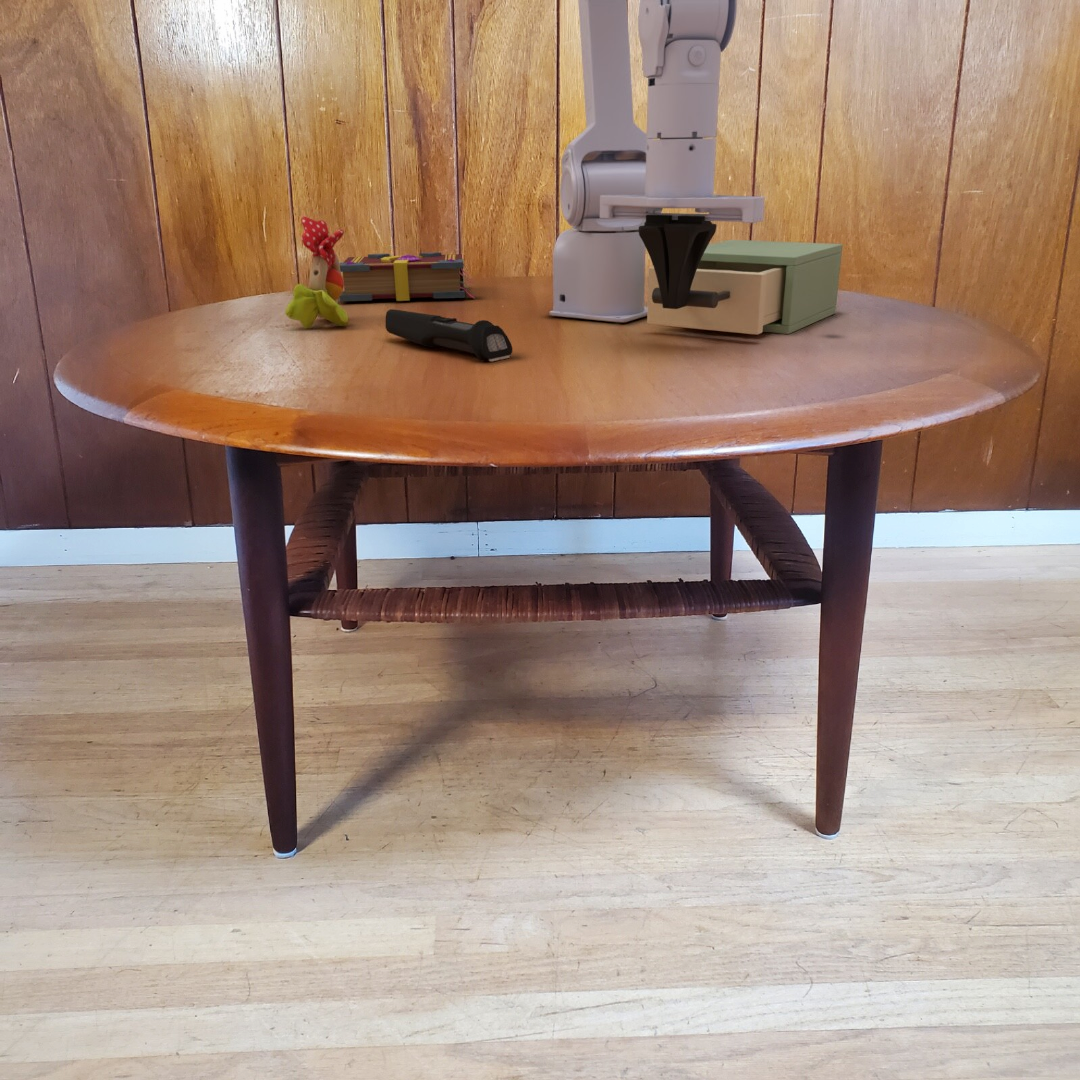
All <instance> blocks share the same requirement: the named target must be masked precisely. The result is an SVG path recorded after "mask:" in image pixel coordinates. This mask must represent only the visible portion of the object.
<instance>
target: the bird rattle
mask: <svg viewBox="0 0 1080 1080" xmlns="http://www.w3.org/2000/svg"><path fill="white" fill-rule="evenodd" d="M300 222H301V224H302V228H303V231H304V232H303V234H302V235H301V236H300V240H301V242H302V245H303V246H304V247H305V248H307V250H309V252H311V253H312V255H311V265H310V270H309V271H310V272H309V277H308V279H309V280H308V287H307V286H305V285H304V284H302V283H298V284H297V285H295V286H294V288H293V290H292V291H293V292H292V299H291V301H290V302H289V303H288V305H286V308H285V310H284V314H285V315H286V317H288V318H289V319H291V320H293V321H300V323H301V325H302V327H303V328H304V329H309V328H311V327H312V326H313V324H314V323H315V322H316V321H315V320H316V319H317V318H320V319H323V320H326V321H329V322H331V323H333V324H335V325H336V326H339V327H345V326H347V325H348V323H349V314H348V313H347V311H346V310H345V309H344V308H343V307H342V306H341V305H340V304H338V303H339V300H340V296H341V294H342V292H343V291H344V280H343V275H342V272H340V264H339V263H340V260H339V257H338V254H337V252H336V251H335V249H334V248H335V245H336V244H337V243H338V242H339V241H340V240H341V239H342V237H343V236H344V234H345V231H344V230H343V229H341V228H340V229H337V231H335V232H334V233H332V234H331V235H330V232H329V228H328V224H327V222H326V221H325V220H322V219H321V220H315V219H313V218H309V217H307V216H302V217H301V219H300Z"/></svg>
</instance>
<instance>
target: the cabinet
mask: <svg viewBox="0 0 1080 1080" xmlns="http://www.w3.org/2000/svg"><path fill="white" fill-rule="evenodd" d="M843 247H844V245H843V244H842V243H826V242H825V243H822V242H800V241H799V242H798V241H797V242H796V241H775V240H774V241H773V240H772V241H771V240H770V241H769V240H750V239H749V240H748V239H728V240H727V239H726V240H723V241H717V242H713V243H709V244H708V246H707V248H706V250H705V252H704V254H703V256H702V258H701V260H700V261H711V262H730V263H749V264H767V265H786V266H787V268H786V280H785V292H784V304H783V316H782V318H781V319H778V320H776V321H773V322H771V323H768V324H766V325H763V332H762V333H772V334H784V335H789V334H792V333H794V332H796V331H799V330H800V329H801V330H802V329H803V328H806V327H807V326H810V325H812V324H815V323H816V322H819V321H821V320H823V319H826V318H828V317H830V316H832V315H835V314H836V313H837V312H836V311H837V303H838V292H839V285H840V284H839V283H840V274H841V264H842V257H843V256H842V255H843Z"/></svg>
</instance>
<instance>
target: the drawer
mask: <svg viewBox="0 0 1080 1080" xmlns="http://www.w3.org/2000/svg"><path fill="white" fill-rule="evenodd" d="M786 268H787V266H786V265H767V264H749V263H730V262H711V261H700V263H699V265H698V268H697V270H696V273H695V276H694V279H693V282H692V285H691V289H690V293H689V297H688V301H687V306H685V307H682V308H679V309H668V308H663V305H662V299H661V294H660V289H659V284H658V280H657V276H656V273H655V270H654V266H651V267H648V275H647V276H648V277H647V278H648V279H647V307H648V310H647V316H646V324H647V325H653V326H654V325H655V326H663V327H674V328H685V329H695V330H704V331H705V330H706V331H715V332H716V331H717V332H724V333H725V332H726V333H727V332H728V333H737V334H746V335H755V336H756V335H757V336H758V335H760V334H762V333H764V332H763V325H766V324H768V323H771V322H773V321H776V320H778V319H781V318H782V316H783V304H784V292H785V280H786ZM712 269H733V270H743V271H746V272H740V271H723V270H712Z"/></svg>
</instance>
